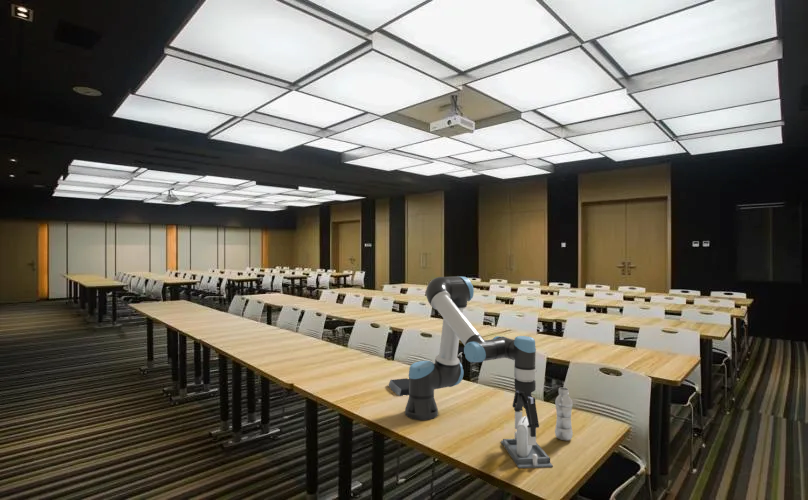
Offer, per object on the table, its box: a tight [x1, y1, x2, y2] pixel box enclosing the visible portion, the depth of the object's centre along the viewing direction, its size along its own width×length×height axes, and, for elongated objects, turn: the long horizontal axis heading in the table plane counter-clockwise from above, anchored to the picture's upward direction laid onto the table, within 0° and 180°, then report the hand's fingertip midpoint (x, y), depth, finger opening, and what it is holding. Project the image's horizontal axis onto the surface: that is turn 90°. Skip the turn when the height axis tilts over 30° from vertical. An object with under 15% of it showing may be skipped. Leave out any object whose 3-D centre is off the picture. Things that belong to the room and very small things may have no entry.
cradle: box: [500, 431, 553, 469], centre depth 152 cm, size 12×20×4 cm, turn 4°
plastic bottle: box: [554, 387, 574, 441], centre depth 165 cm, size 6×7×20 cm
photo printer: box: [516, 415, 532, 457], centre depth 153 cm, size 10×4×12 cm, turn 151°
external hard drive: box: [388, 378, 409, 397], centre depth 226 cm, size 13×19×4 cm
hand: (524, 436), depth 152 cm, fingers open, 13 cm apart
